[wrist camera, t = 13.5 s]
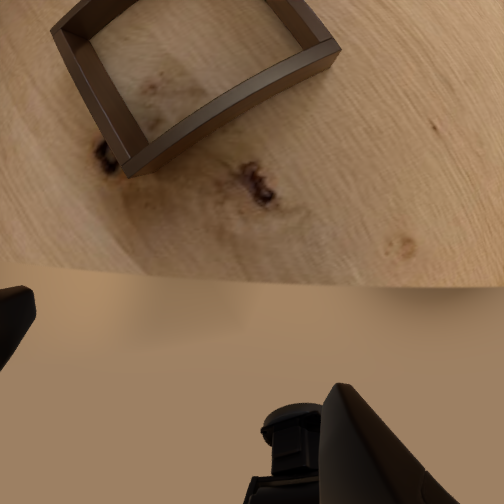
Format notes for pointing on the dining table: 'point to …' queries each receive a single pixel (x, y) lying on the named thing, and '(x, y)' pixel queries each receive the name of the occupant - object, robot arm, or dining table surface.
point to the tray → (204, 119)
